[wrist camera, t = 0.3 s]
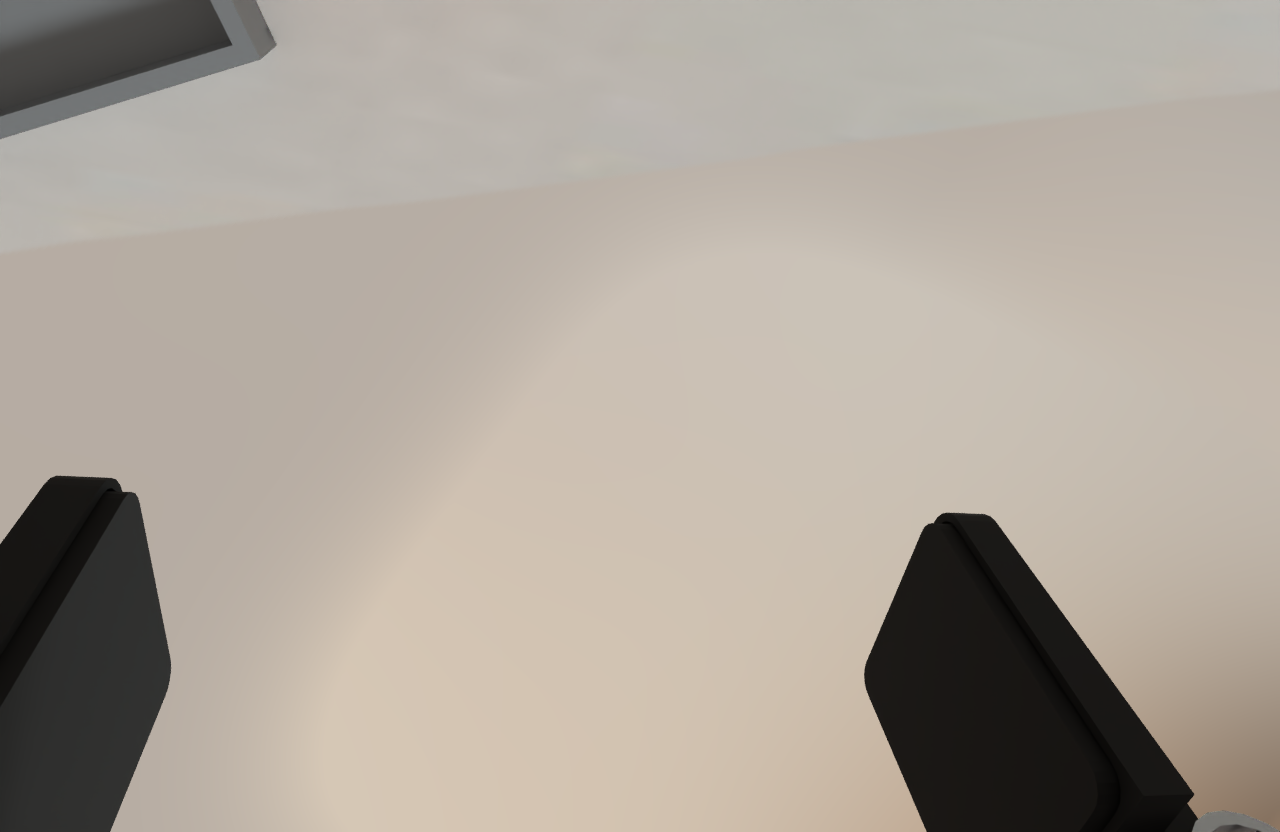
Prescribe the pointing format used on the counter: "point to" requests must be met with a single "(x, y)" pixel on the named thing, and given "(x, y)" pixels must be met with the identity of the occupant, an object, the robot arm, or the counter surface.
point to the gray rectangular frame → (114, 52)
